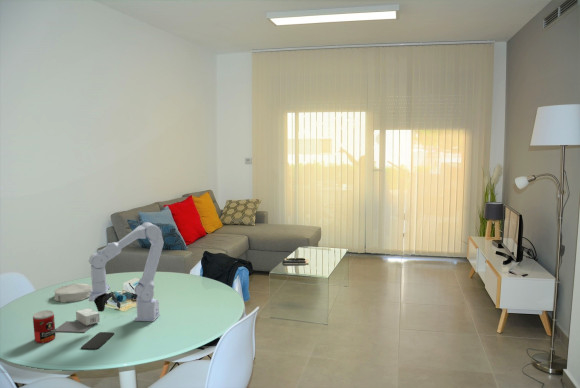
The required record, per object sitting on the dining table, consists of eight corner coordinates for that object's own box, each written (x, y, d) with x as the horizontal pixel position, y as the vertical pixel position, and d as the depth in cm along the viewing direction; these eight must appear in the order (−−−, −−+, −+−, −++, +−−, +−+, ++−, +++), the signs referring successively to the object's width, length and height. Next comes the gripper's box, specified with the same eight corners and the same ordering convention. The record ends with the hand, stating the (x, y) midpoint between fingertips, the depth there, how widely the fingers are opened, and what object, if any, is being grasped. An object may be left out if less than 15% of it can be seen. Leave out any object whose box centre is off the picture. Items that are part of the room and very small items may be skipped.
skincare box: (86, 316, 198) (75, 310, 206) (86, 326, 198) (75, 319, 207) (100, 312, 203) (88, 307, 211) (100, 322, 203) (89, 316, 211)
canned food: (41, 345, 182) (39, 319, 181) (30, 340, 187) (28, 315, 185) (59, 337, 189) (57, 312, 187) (48, 333, 193) (46, 308, 192)
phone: (115, 332, 193) (97, 348, 178) (115, 334, 193) (97, 350, 178) (99, 331, 194) (79, 348, 179) (99, 333, 194) (79, 349, 179)
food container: (44, 300, 233) (43, 287, 232) (76, 287, 251) (75, 275, 250) (73, 306, 226) (72, 293, 224) (103, 292, 244) (102, 280, 243)
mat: (96, 322, 204) (96, 322, 203) (84, 332, 194) (84, 331, 194) (66, 322, 205) (66, 321, 205) (53, 331, 195) (53, 330, 195)
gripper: (98, 275, 203) (100, 304, 205) (81, 286, 189) (83, 317, 190) (113, 275, 202) (115, 304, 204) (97, 286, 188) (99, 317, 190)
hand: (101, 310), depth 197 cm, fingers closed
